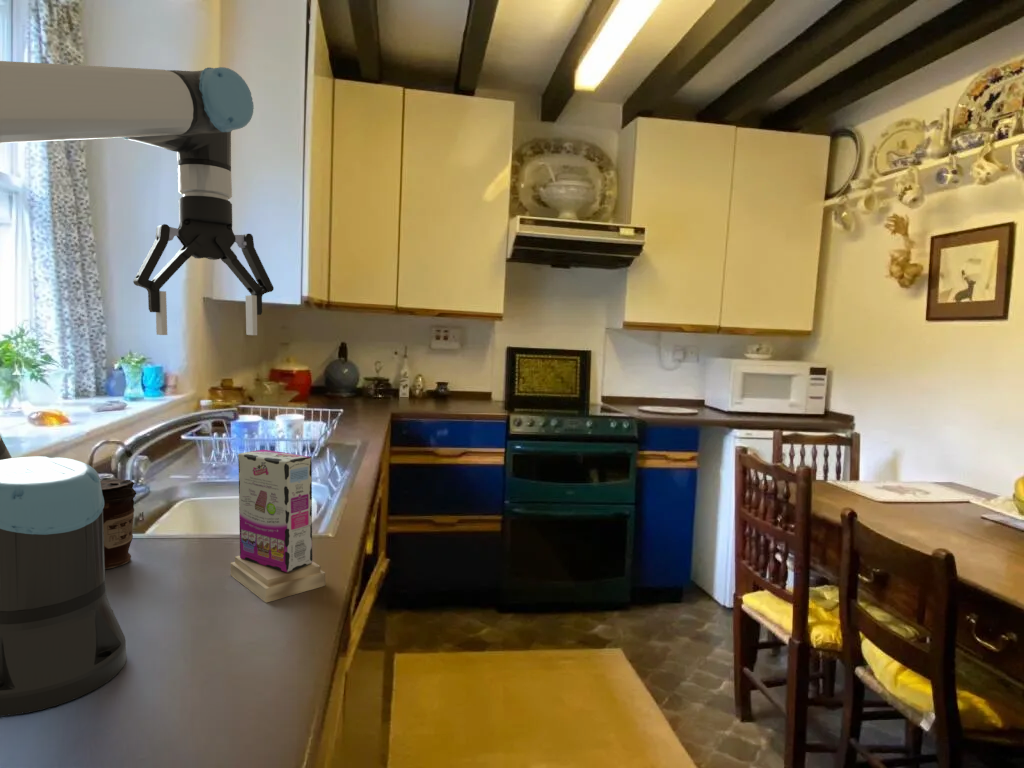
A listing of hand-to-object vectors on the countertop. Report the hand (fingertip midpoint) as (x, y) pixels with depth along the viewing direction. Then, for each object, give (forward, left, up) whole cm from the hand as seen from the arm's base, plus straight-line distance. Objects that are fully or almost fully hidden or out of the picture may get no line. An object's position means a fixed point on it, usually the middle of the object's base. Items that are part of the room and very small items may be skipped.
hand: (208, 335), depth 102 cm
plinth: (+4, -15, -37) cm, 40 cm away
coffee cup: (-13, +9, -37) cm, 40 cm away
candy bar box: (+4, -15, -34) cm, 37 cm away
